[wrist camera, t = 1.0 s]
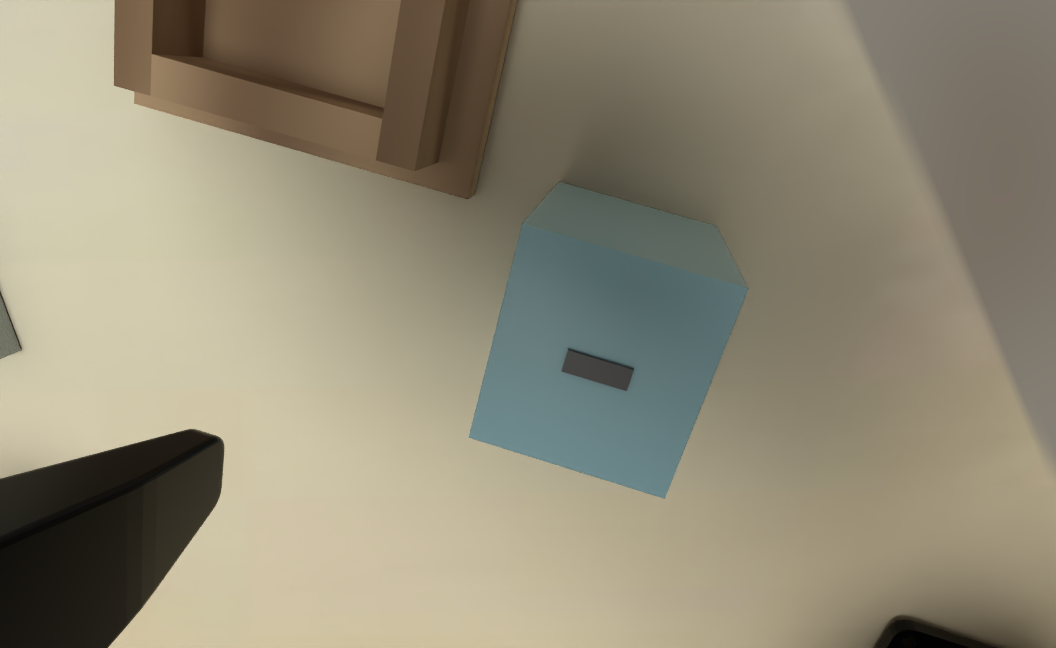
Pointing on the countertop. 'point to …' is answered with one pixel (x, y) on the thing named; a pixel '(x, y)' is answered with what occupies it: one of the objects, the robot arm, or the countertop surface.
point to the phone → (7, 334)
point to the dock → (328, 76)
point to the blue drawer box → (608, 337)
